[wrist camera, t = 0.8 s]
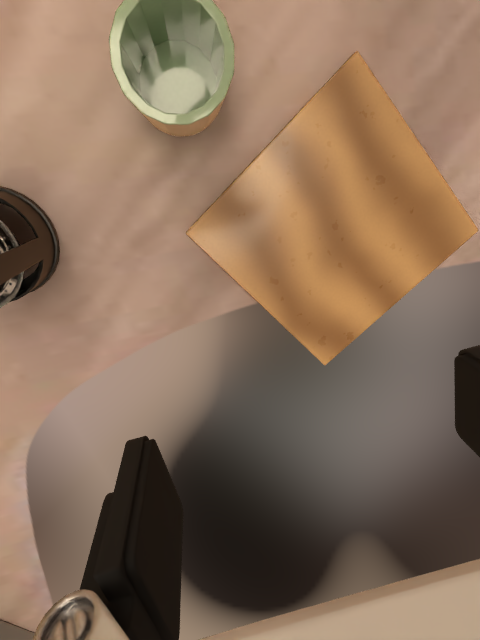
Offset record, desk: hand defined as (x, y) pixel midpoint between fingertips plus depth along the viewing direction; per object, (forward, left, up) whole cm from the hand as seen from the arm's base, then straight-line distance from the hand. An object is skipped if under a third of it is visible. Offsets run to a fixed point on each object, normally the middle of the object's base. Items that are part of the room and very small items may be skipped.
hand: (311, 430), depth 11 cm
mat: (-8, +6, -26) cm, 28 cm away
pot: (-6, -12, -26) cm, 29 cm away
